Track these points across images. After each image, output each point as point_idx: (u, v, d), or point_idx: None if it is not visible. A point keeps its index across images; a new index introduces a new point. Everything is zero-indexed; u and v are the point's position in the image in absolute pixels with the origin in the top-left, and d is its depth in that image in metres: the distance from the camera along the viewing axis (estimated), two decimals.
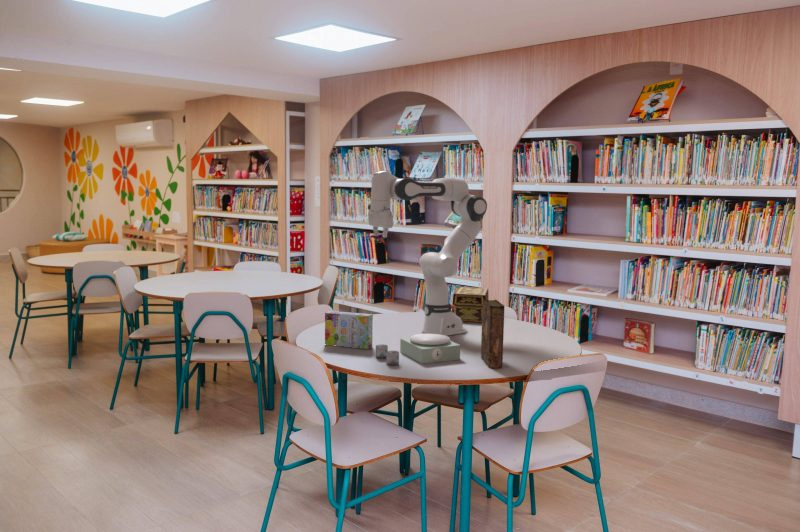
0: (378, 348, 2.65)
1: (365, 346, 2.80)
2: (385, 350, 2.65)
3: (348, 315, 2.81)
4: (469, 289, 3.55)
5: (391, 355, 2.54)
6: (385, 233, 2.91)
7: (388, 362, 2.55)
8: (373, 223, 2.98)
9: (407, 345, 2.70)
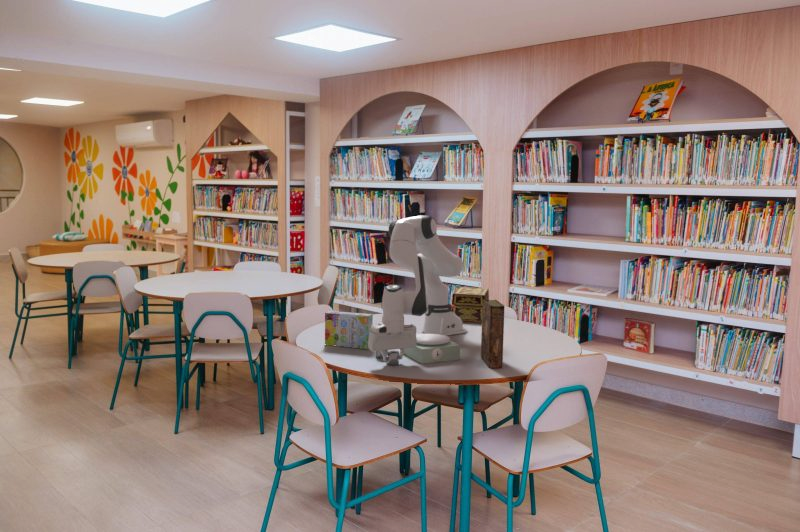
0: None
1: (365, 346, 2.80)
2: None
3: (348, 315, 2.81)
4: (469, 289, 3.55)
5: (391, 355, 2.54)
6: None
7: (388, 362, 2.55)
8: (385, 347, 2.53)
9: None
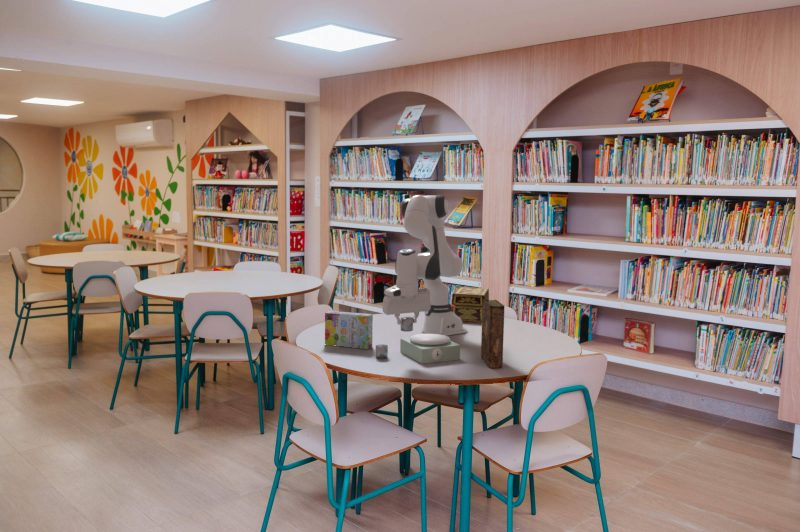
0: (378, 348, 2.65)
1: (365, 346, 2.80)
2: (385, 350, 2.65)
3: (348, 315, 2.81)
4: (469, 289, 3.55)
5: (405, 321, 2.57)
6: None
7: (402, 328, 2.58)
8: (399, 311, 2.55)
9: (407, 345, 2.70)
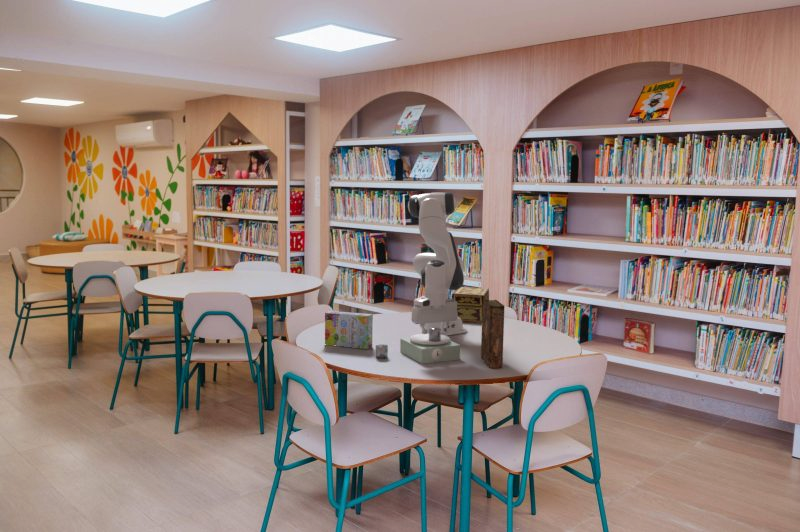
0: (378, 348, 2.65)
1: (365, 346, 2.80)
2: (385, 350, 2.65)
3: (348, 315, 2.81)
4: (469, 289, 3.55)
5: (433, 331, 2.64)
6: None
7: (430, 338, 2.65)
8: (428, 320, 2.62)
9: (407, 345, 2.70)
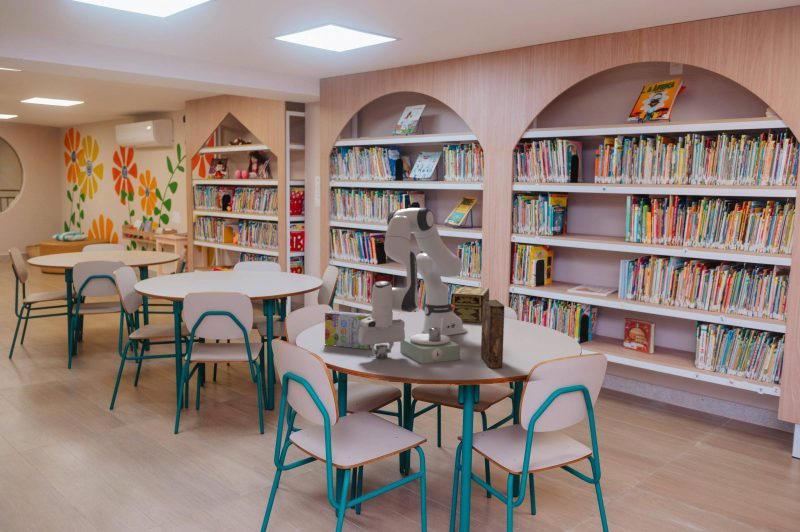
0: (378, 348, 2.65)
1: (365, 346, 2.80)
2: (385, 350, 2.65)
3: (348, 315, 2.81)
4: (469, 289, 3.55)
5: (433, 331, 2.64)
6: None
7: (430, 338, 2.65)
8: (374, 341, 2.63)
9: (407, 345, 2.70)
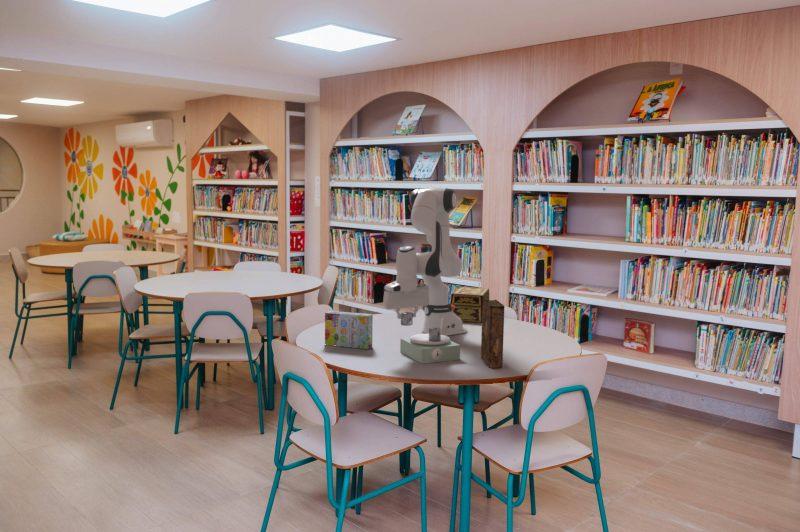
0: (403, 315, 2.68)
1: (365, 346, 2.80)
2: (410, 317, 2.68)
3: (348, 315, 2.81)
4: (469, 289, 3.55)
5: (433, 331, 2.64)
6: None
7: (430, 338, 2.65)
8: (399, 305, 2.66)
9: (407, 345, 2.70)
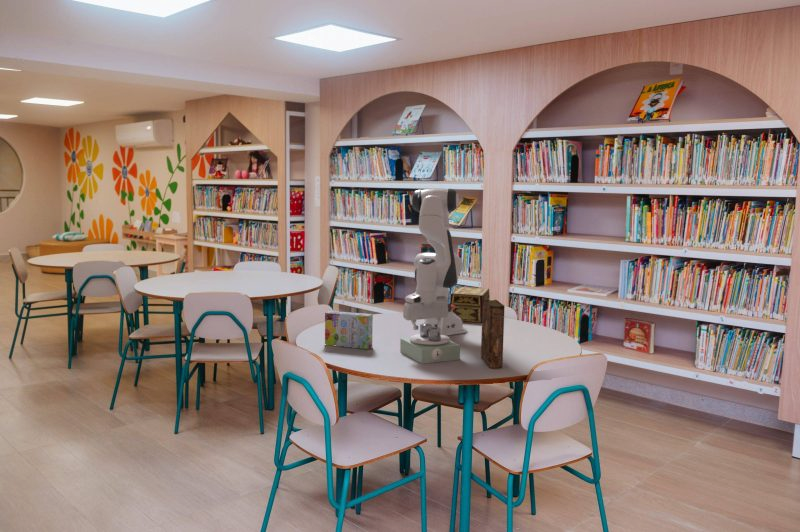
0: (423, 327, 2.71)
1: (365, 346, 2.80)
2: None
3: (348, 315, 2.81)
4: (469, 289, 3.55)
5: (433, 331, 2.64)
6: None
7: (430, 338, 2.65)
8: (419, 316, 2.69)
9: (407, 345, 2.70)
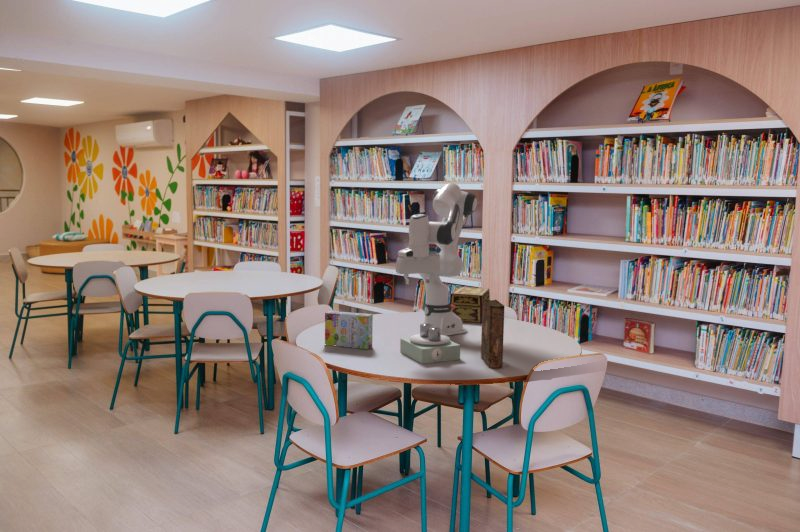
0: (423, 327, 2.71)
1: (365, 346, 2.80)
2: None
3: (348, 315, 2.81)
4: (469, 289, 3.55)
5: (433, 331, 2.64)
6: None
7: (430, 338, 2.65)
8: (411, 271, 2.74)
9: (407, 345, 2.70)
